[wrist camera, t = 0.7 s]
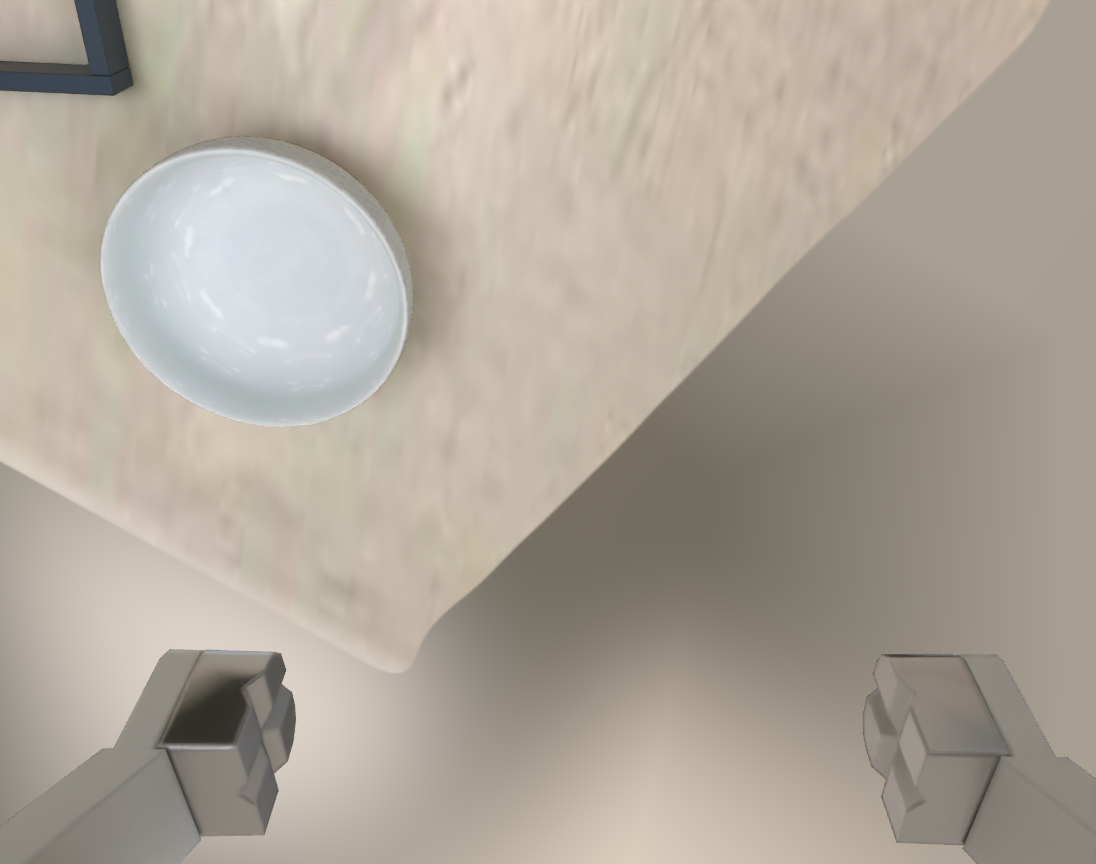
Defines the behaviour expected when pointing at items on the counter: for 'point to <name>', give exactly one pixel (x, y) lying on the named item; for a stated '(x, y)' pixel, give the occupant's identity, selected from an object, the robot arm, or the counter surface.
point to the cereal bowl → (258, 281)
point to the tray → (97, 78)
